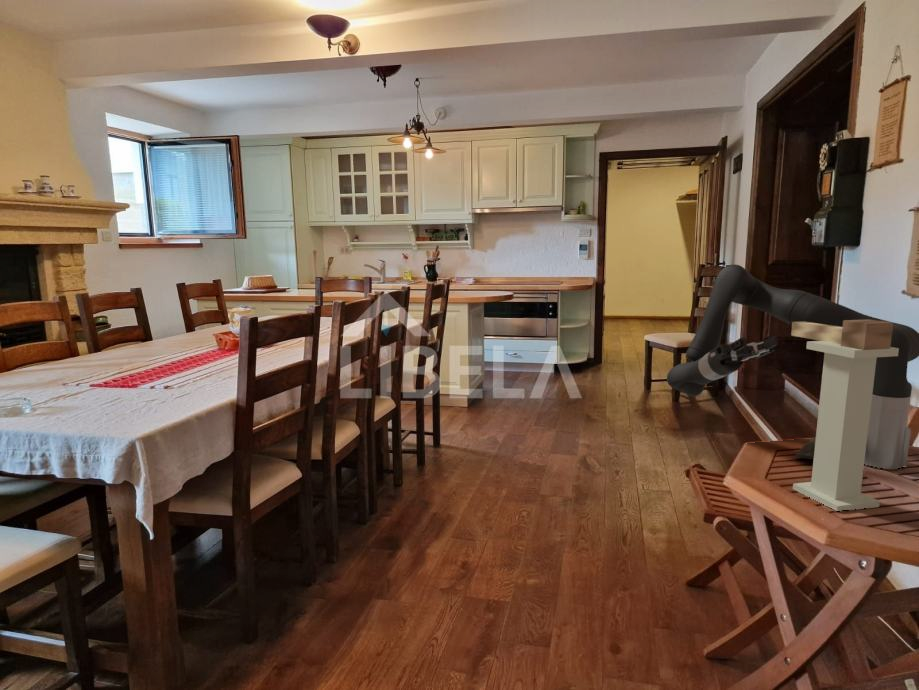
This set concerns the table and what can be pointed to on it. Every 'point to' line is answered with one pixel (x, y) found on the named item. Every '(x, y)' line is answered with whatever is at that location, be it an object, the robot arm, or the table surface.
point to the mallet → (848, 333)
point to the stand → (842, 426)
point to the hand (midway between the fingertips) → (760, 340)
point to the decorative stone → (807, 450)
